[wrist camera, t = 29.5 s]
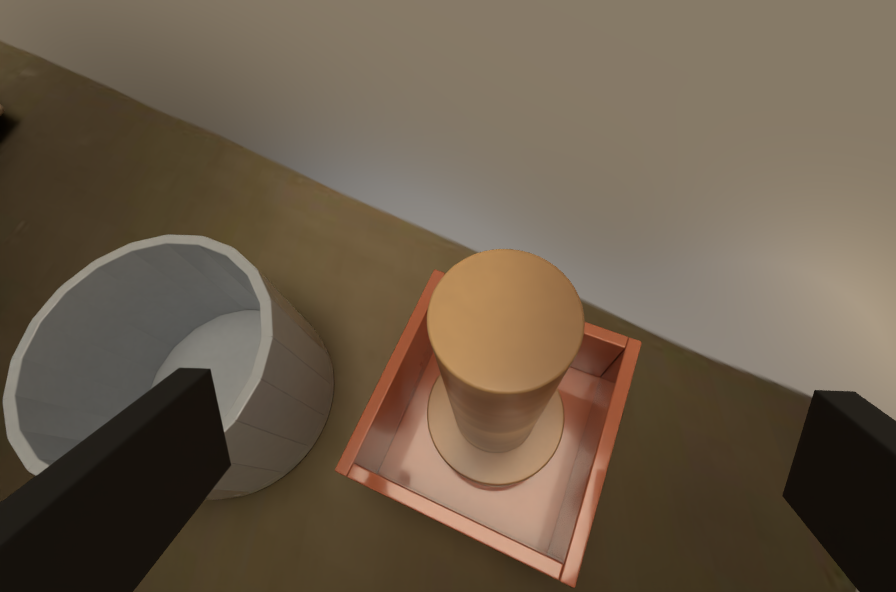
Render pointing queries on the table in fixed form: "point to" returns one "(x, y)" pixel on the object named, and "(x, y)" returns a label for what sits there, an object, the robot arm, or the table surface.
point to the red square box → (506, 507)
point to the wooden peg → (501, 364)
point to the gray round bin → (171, 356)
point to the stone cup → (1, 110)
